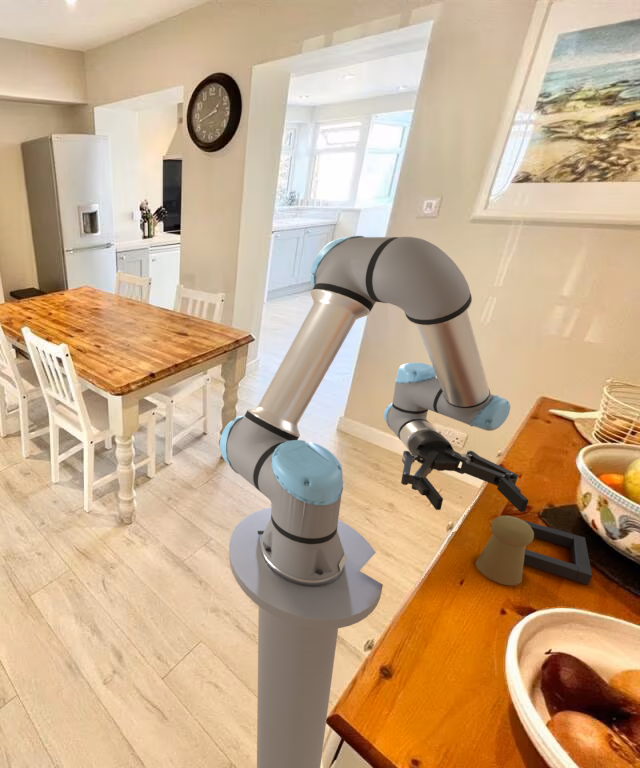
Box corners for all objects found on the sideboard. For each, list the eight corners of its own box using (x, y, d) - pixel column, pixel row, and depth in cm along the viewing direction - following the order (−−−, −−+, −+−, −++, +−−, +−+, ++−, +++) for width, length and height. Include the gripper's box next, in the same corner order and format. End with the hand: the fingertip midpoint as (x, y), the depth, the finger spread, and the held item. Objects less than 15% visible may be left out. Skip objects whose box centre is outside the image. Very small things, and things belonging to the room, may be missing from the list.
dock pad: (506, 558, 72) (509, 549, 72) (507, 524, 79) (509, 516, 78) (588, 585, 66) (592, 575, 65) (581, 546, 73) (585, 537, 72)
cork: (470, 569, 71) (485, 522, 67) (482, 551, 74) (497, 504, 70) (515, 592, 67) (534, 542, 62) (526, 571, 70) (544, 522, 65)
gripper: (483, 456, 92) (555, 522, 73) (365, 456, 98) (403, 518, 79) (491, 428, 89) (568, 490, 70) (368, 430, 95) (409, 488, 76)
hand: (481, 505), depth 74 cm, fingers open, 13 cm apart
